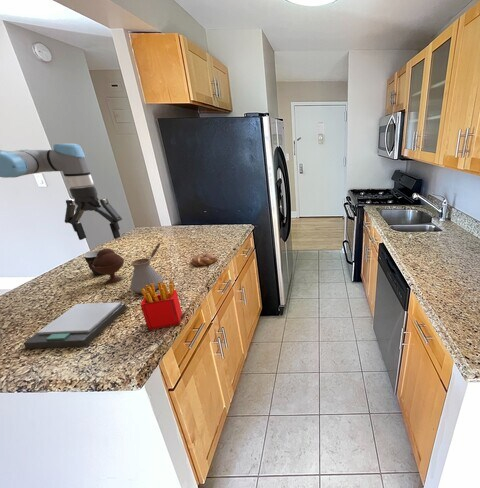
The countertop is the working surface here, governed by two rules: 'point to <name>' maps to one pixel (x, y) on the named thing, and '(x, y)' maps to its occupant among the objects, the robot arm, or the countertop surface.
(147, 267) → the coffee pot
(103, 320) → the scale
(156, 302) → the french fries container
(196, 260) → the pretzel
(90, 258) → the coffee mug
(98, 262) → the ice cream bowl
